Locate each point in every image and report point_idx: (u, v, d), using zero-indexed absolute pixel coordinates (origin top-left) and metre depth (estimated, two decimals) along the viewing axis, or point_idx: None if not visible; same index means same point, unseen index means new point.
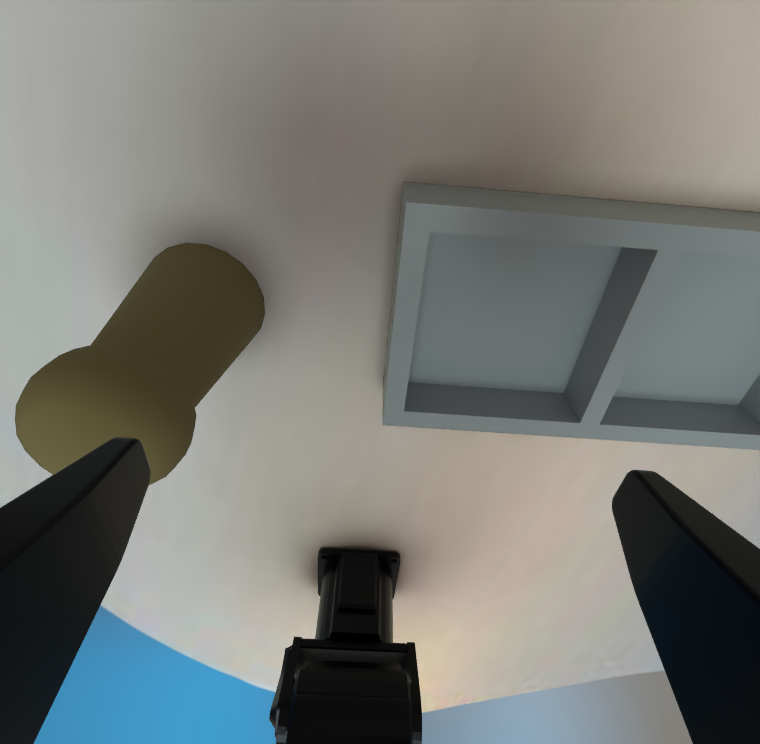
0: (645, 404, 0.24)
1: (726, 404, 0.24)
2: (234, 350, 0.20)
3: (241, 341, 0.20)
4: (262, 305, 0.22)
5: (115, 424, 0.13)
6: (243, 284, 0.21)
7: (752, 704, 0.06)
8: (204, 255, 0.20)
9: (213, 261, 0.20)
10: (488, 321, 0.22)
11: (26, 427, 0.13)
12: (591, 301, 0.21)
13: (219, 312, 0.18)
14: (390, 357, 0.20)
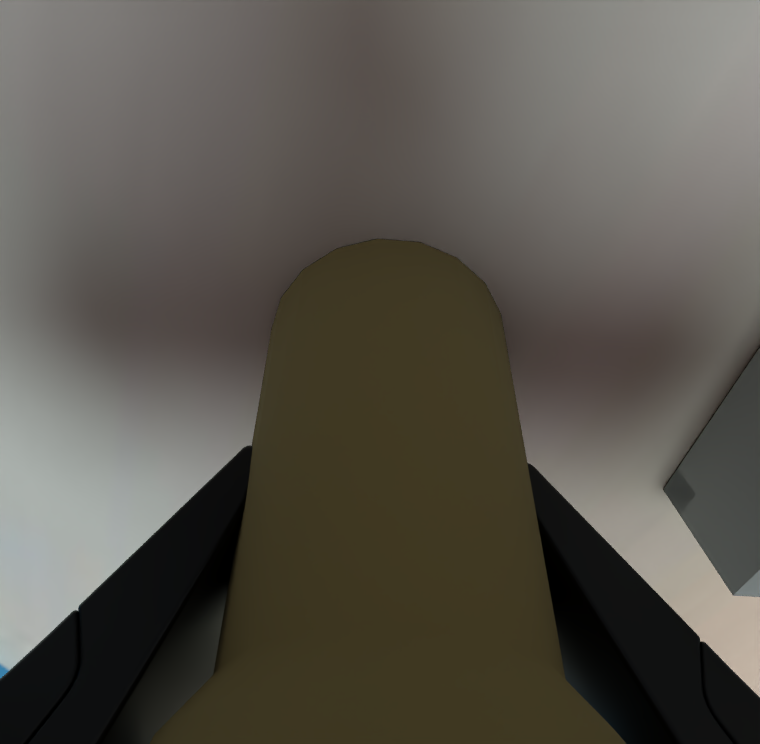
0: None
1: None
2: None
3: None
4: None
5: None
6: (499, 327, 0.10)
7: None
8: (431, 266, 0.09)
9: (451, 279, 0.09)
10: None
11: None
12: None
13: (512, 407, 0.08)
14: None
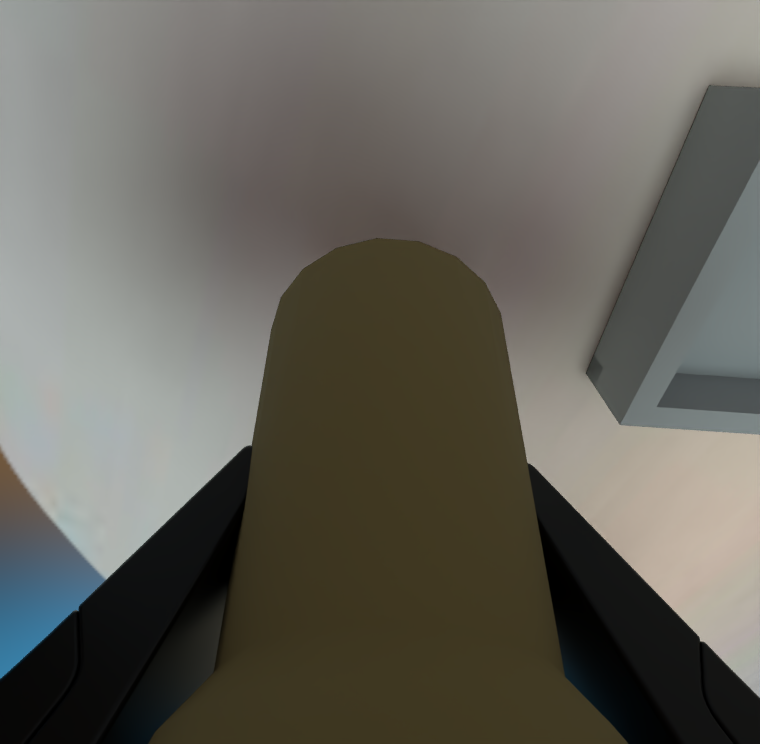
0: None
1: None
2: None
3: None
4: None
5: None
6: (498, 326, 0.10)
7: None
8: (430, 265, 0.09)
9: (451, 278, 0.09)
10: None
11: None
12: None
13: (512, 406, 0.08)
14: (668, 332, 0.15)
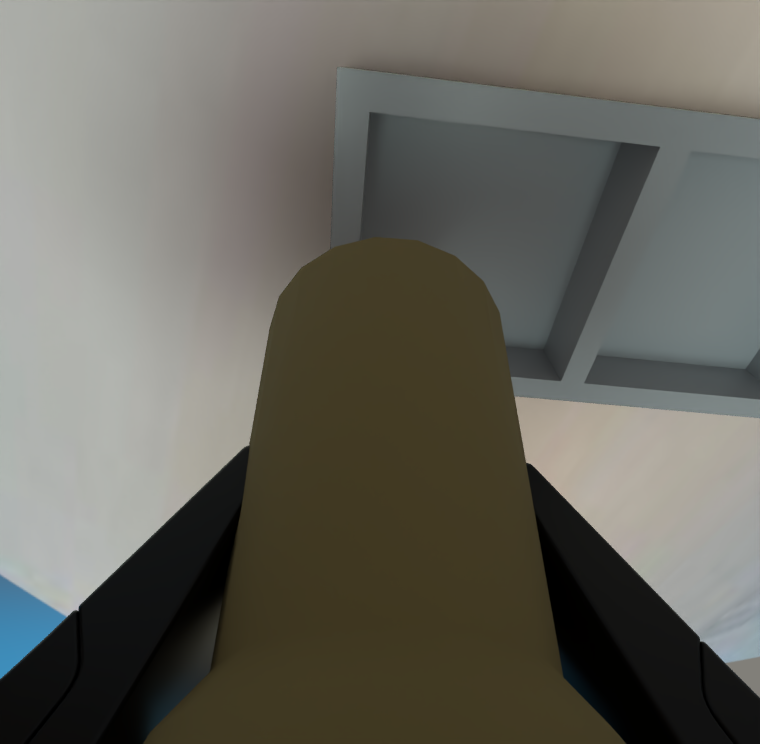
0: (638, 365, 0.20)
1: (732, 367, 0.21)
2: None
3: None
4: None
5: None
6: (497, 325, 0.10)
7: None
8: (429, 263, 0.09)
9: (450, 277, 0.09)
10: (454, 255, 0.18)
11: None
12: (577, 231, 0.17)
13: (510, 405, 0.08)
14: None
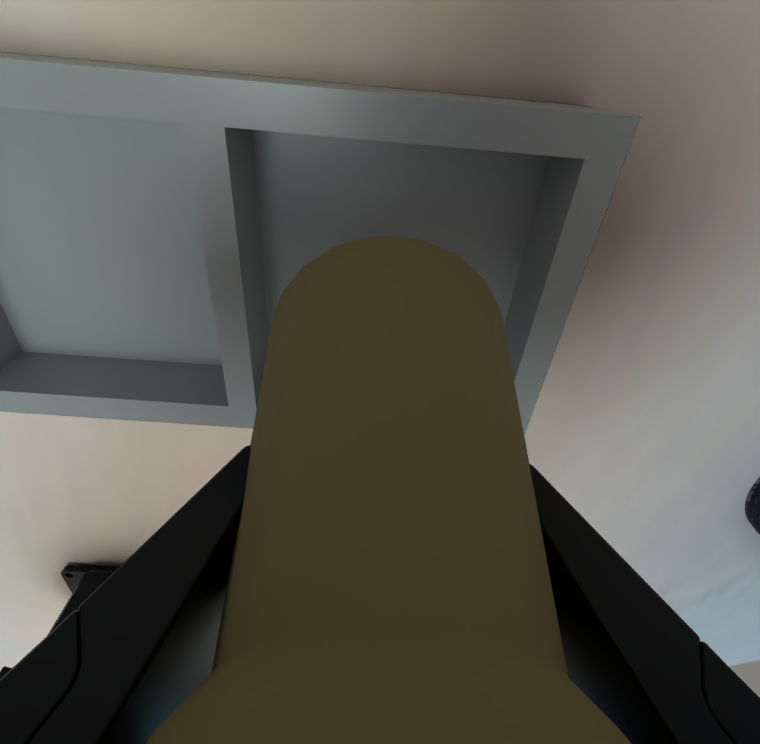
0: None
1: None
2: None
3: None
4: None
5: None
6: (499, 324, 0.10)
7: None
8: (431, 262, 0.09)
9: (452, 276, 0.09)
10: (89, 262, 0.15)
11: None
12: None
13: (513, 404, 0.08)
14: None
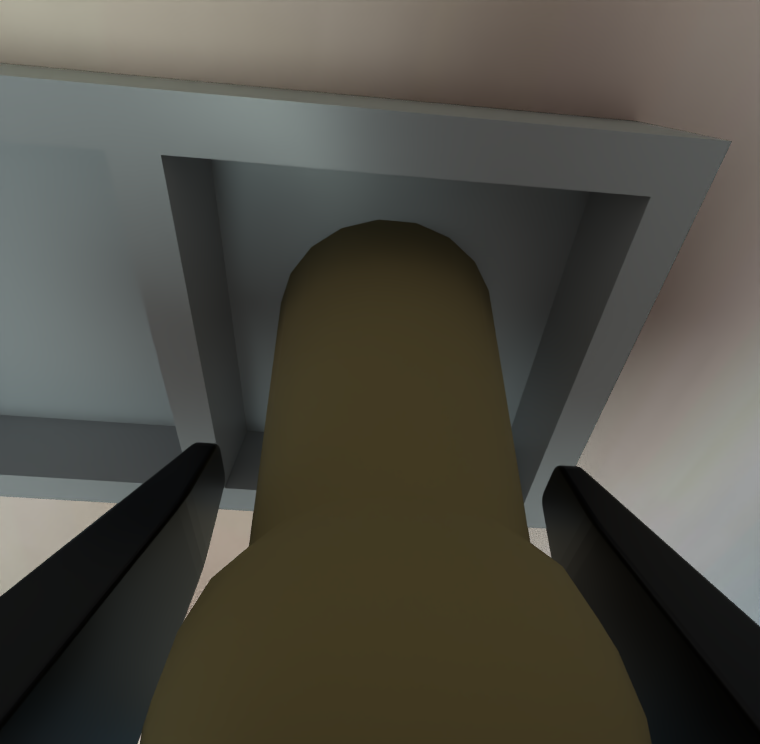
0: None
1: None
2: None
3: None
4: None
5: None
6: (486, 299, 0.11)
7: (645, 699, 0.05)
8: (426, 243, 0.10)
9: (444, 254, 0.10)
10: (17, 311, 0.12)
11: None
12: None
13: (496, 362, 0.09)
14: None
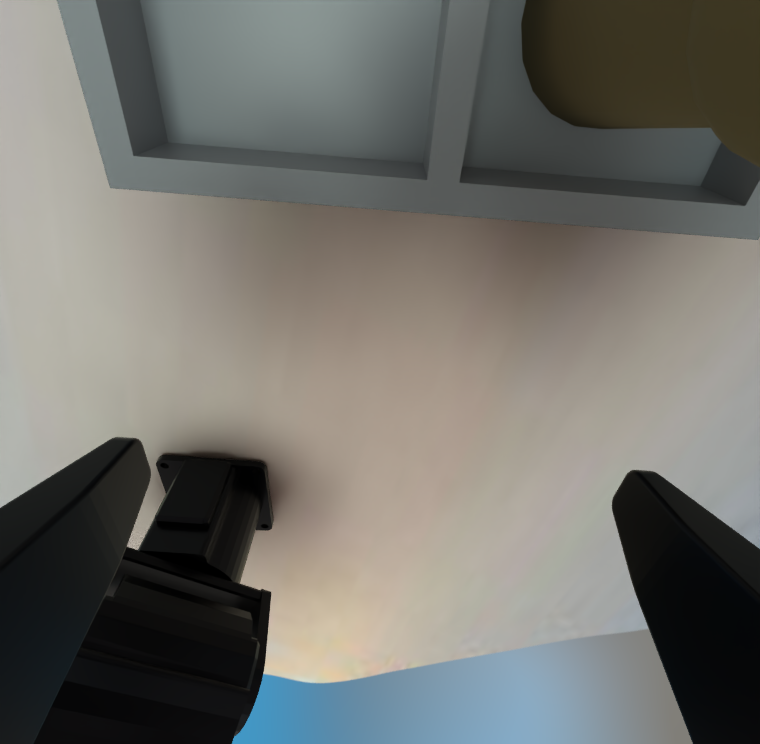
0: (549, 177, 0.15)
1: (681, 183, 0.16)
2: None
3: None
4: None
5: None
6: None
7: (752, 704, 0.06)
8: None
9: None
10: (269, 0, 0.13)
11: None
12: None
13: None
14: (66, 23, 0.11)
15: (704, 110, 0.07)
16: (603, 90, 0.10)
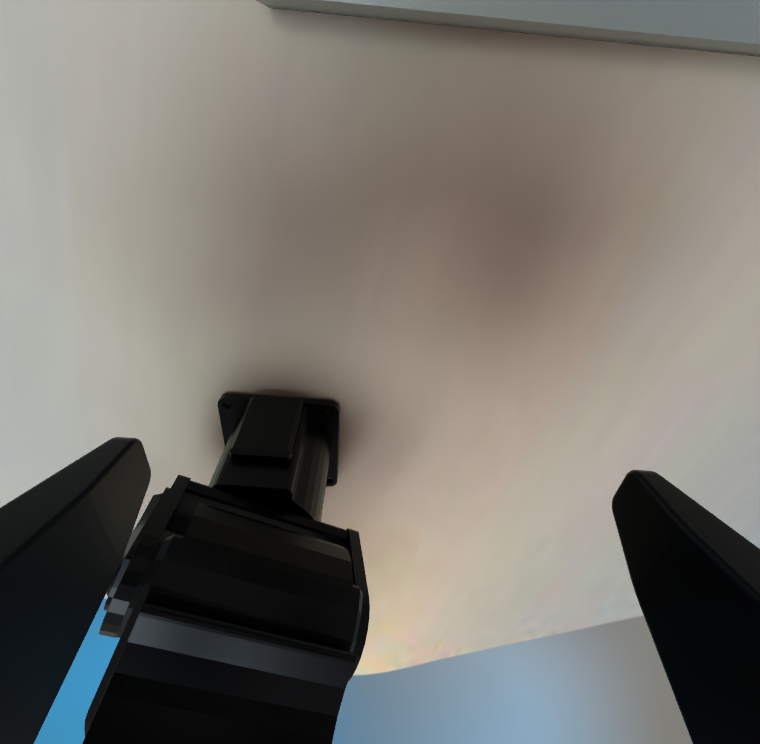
0: None
1: None
2: None
3: None
4: None
5: None
6: None
7: (752, 704, 0.06)
8: None
9: None
10: None
11: None
12: None
13: None
14: None
15: None
16: None
